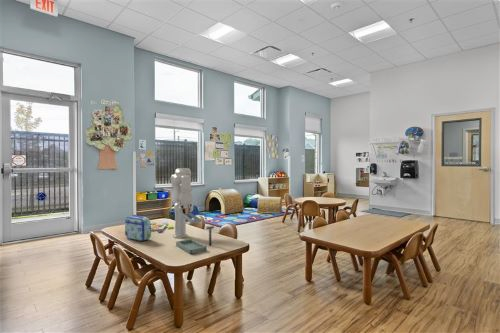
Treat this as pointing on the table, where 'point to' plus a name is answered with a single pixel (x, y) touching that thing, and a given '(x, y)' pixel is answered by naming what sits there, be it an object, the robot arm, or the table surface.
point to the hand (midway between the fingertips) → (186, 212)
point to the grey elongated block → (190, 216)
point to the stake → (210, 234)
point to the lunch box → (137, 228)
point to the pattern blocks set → (159, 227)
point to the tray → (191, 246)
